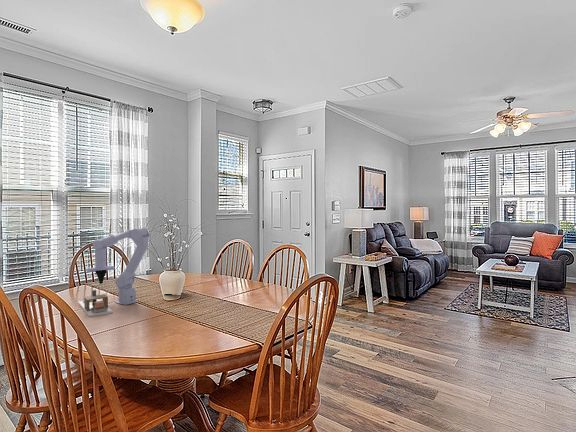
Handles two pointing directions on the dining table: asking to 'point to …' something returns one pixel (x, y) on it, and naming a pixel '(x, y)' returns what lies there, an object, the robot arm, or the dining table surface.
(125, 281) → the robot arm
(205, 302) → the dining table surface
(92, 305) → the sled
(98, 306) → the block
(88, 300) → the tunnel deck
